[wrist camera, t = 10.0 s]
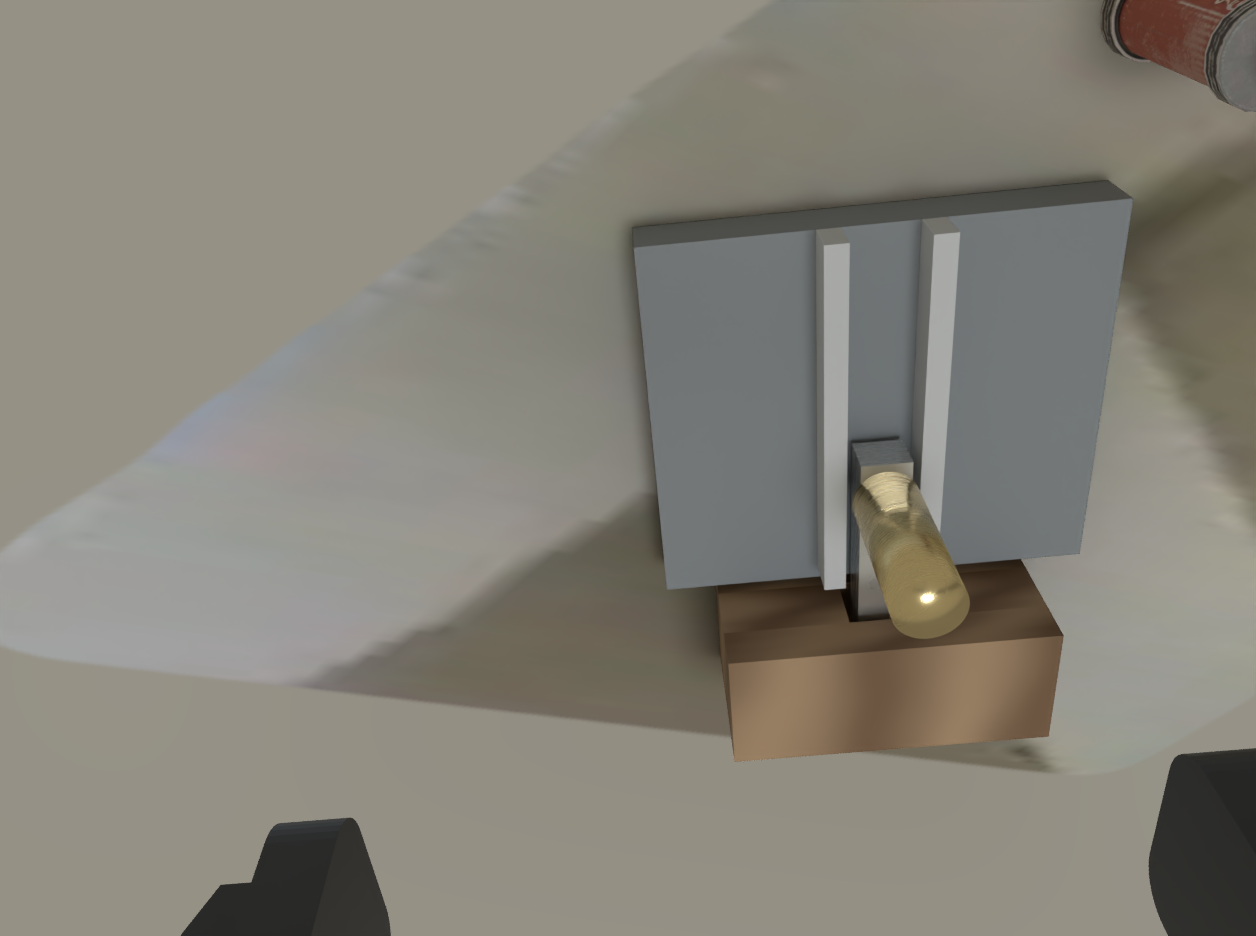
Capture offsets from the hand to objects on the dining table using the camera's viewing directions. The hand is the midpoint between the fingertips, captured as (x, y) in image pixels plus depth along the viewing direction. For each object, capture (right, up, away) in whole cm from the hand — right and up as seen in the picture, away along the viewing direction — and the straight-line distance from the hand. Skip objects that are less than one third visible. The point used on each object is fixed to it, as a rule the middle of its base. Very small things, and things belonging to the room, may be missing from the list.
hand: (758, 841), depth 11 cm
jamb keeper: (+8, -2, +34) cm, 35 cm away
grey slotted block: (+7, +7, +29) cm, 31 cm away
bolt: (+8, +1, +30) cm, 31 cm away
